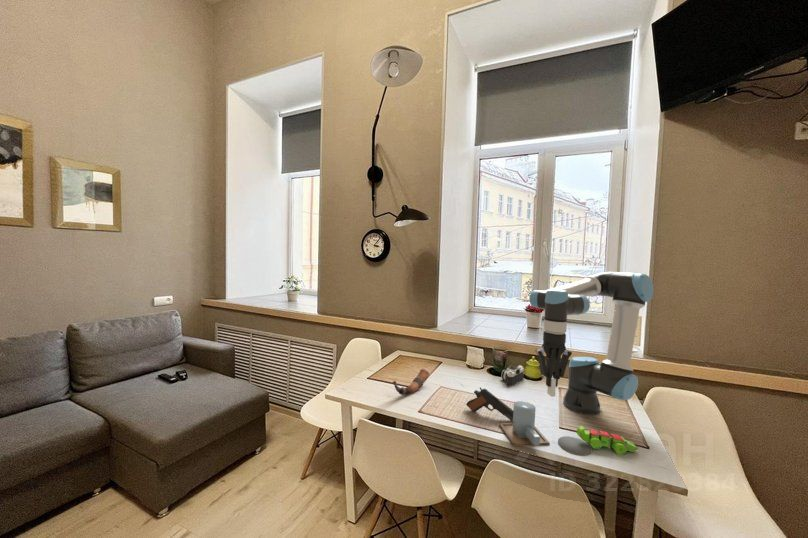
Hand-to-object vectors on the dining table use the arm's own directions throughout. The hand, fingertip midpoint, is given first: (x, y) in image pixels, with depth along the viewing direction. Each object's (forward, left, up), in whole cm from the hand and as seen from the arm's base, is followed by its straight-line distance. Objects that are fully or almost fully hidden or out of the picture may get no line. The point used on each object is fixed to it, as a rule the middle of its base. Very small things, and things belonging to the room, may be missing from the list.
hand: (551, 394), depth 117 cm
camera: (-11, -59, -19) cm, 63 cm away
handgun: (+17, -23, -21) cm, 36 cm away
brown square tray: (+7, -7, -19) cm, 21 cm away
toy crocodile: (-20, +2, -19) cm, 28 cm away
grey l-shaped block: (+7, -7, -18) cm, 21 cm away
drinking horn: (+48, -45, -19) cm, 68 cm away
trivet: (-9, +1, -19) cm, 21 cm away
